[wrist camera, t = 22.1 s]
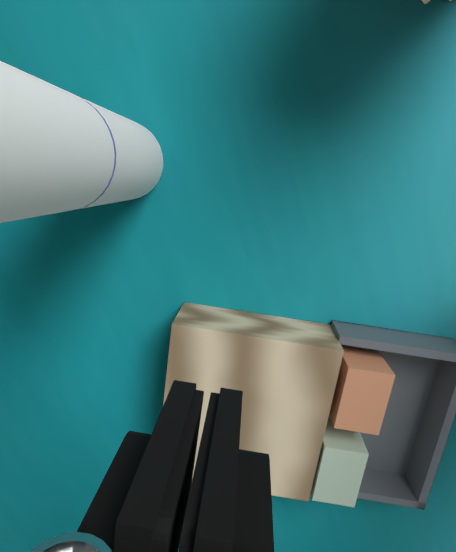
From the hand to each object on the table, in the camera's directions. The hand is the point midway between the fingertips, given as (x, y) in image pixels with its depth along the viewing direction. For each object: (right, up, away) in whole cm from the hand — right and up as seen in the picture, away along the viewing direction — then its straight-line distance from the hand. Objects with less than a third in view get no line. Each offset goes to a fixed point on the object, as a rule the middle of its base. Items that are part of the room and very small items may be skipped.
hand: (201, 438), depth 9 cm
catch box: (+16, -10, +31) cm, 36 cm away
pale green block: (+9, -14, +29) cm, 34 cm away
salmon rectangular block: (+11, -6, +27) cm, 30 cm away
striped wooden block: (+2, -8, +32) cm, 33 cm away
